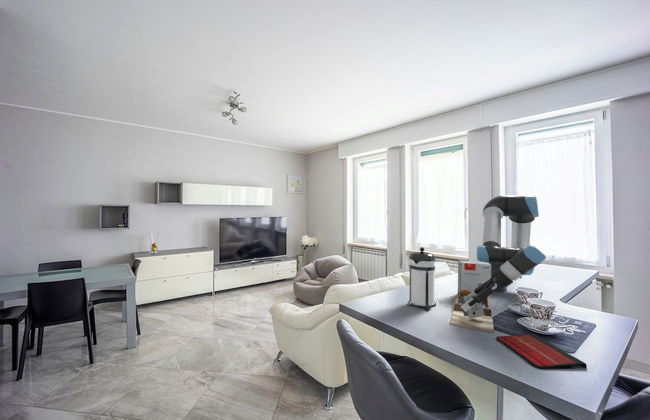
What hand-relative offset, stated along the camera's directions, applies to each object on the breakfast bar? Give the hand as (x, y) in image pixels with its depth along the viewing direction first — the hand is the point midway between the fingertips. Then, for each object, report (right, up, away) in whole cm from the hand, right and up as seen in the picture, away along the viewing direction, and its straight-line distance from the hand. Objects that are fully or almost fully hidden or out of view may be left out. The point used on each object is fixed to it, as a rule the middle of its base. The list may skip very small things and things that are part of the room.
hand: (463, 305), depth 122 cm
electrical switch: (+3, -4, -2) cm, 5 cm away
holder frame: (+13, -6, +17) cm, 22 cm away
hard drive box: (+22, -7, +32) cm, 40 cm away
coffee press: (-12, -7, +19) cm, 24 cm away
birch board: (+3, -6, -2) cm, 7 cm away
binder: (+11, -7, -27) cm, 30 cm away
